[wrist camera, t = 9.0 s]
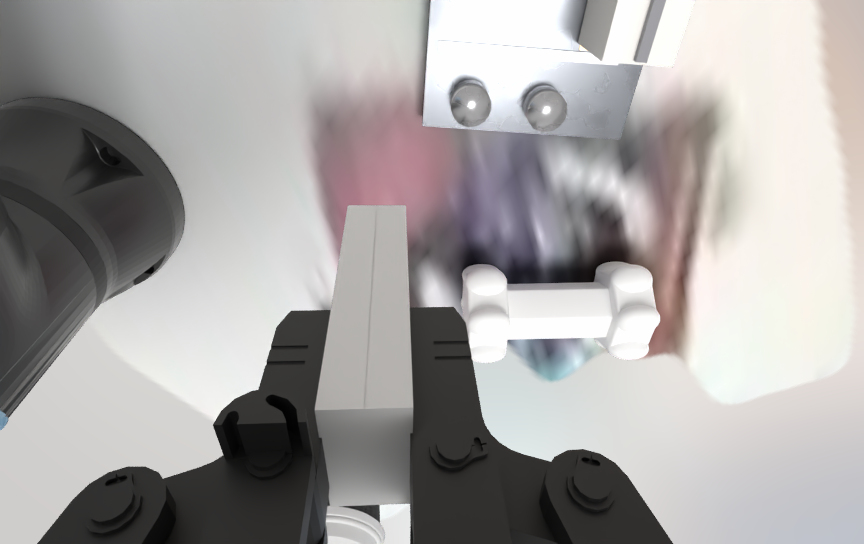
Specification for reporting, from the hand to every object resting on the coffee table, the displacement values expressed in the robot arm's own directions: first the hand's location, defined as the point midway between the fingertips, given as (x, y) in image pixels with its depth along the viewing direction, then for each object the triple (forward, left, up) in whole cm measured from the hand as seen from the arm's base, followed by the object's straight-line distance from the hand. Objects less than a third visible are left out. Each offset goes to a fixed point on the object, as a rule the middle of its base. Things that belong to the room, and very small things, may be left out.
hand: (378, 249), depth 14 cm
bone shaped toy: (+14, -19, -25) cm, 34 cm away
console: (+9, +4, -24) cm, 26 cm away
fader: (+13, +4, -22) cm, 26 cm away
